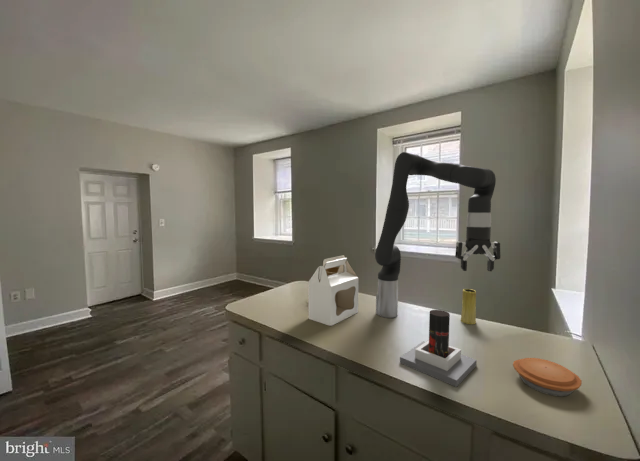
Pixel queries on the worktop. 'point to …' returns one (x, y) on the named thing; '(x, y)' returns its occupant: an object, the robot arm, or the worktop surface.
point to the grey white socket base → (439, 363)
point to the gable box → (333, 292)
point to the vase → (468, 306)
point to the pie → (547, 376)
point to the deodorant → (439, 333)
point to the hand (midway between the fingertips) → (476, 270)
